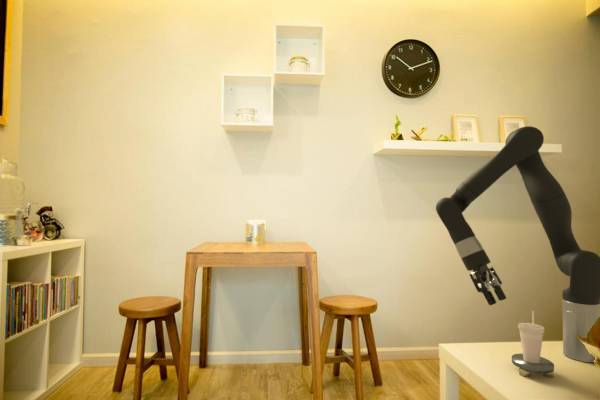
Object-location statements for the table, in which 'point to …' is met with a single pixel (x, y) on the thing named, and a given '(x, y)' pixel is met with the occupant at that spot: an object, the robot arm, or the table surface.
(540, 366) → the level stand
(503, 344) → the table surface
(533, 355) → the smoothie
